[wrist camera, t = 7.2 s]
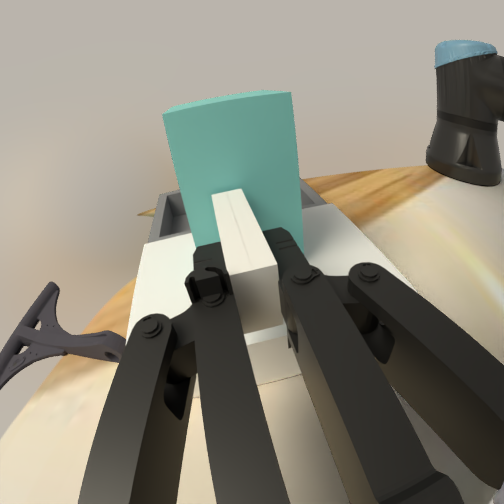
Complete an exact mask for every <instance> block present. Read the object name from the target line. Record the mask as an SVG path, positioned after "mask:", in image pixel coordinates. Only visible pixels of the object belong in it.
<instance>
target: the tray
mask: <svg viewBox="0 0 504 504" xmlns="http://www.w3.org/2000/svg"><path fill="white" fill-rule="evenodd" d="M299 178H300V177H299ZM300 191H301V206H302V209H305V208H310V207H315V206H320V205H325V204H327V203H326V202H325V201H324V200H323V199H322V198H321V197H320V196H319V195H318V194H317V193H316V192H315V191H314V190H313V189H312V188H311V187H310V186H309V185H307V184H306V183H305V182H304V181H303V180H302V179H301V178H300ZM189 233H191V229H190V225H189V222H188V218H187V214H186V211H185V207H184V203H183V199H182V196H181V192H180V190H176V191H172V192H168V193H164V194H160V195H159V199H158V204H157V207H156V211H155V215H154V219H153V223H152V227H151V231H150V236H149V240H148V243H151V242H155V241H159V240H164V239H168V238H172V237H176V236H180V235H185V234H189Z"/></svg>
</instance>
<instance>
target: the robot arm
mask: <svg viewBox="0 0 504 504" xmlns="http://www.w3.org/2000/svg"><path fill="white" fill-rule="evenodd" d="M434 67H435V69H436V75H437V122H436V125H435V128H434V131H433V135H432V137H431V141H430V145H429V146H428V147H427V150H426V163H427V164H428V165H429V166H430V167H431V168H433V169H434V170H436V171H438V172H440V173H442V174H444V175H447V176H449V177H452V178H455V179H458V180H461V181H465V182H468V183H473V184H478V185H488V186H490V185H497V184H498V183H499V182H500V178H501V172H502V168H501V160H500V153H499V147H498V141H497V125H498V120H500V121H503V122H504V57H502V56H499V55H497V51H496V48H495V47H494V46H493V45H491V44H487V43H484V42H479V41H470V40H450V41H444V42H441V43H439V44H438V45H437V46H436V48H435V66H434ZM211 196H212V201H213V206H214V211H215V216H216V221H217V226H218V231H219V236H220V240H221V241H220V242H216V243H211V244H207V245H203V246H198V247H197V248H196V250H195V252H194V253H193V269H194V270H193V271H192V272H190V273H189V274H188V276H187V277H186V279H185V283H184V284H185V287H186V289H187V292H188V295H189V298H190V300H191V303H192V305H191V306H190V307H189V308H188V309H187V310H186V311H184V312H183V313H181V314H179V315H177V316H175V317H173V318H171V319H169V317H167V316H166V315H164V314H159V313H155V314H149V315H147V316H145V317H143V318H141V319H140V320H139V321H138V322H137V323H136V324H135V326H134V327H133V329H132V331H131V334H130V336H129V339H128V341H127V344H126V346H125V349H124V351H123V354H122V357H121V359H120V362H119V365H118V367H117V370H116V373H115V376H114V379H113V381H112V384H111V387H110V390H109V393H108V396H107V399H106V402H105V405H104V408H103V411H102V414H101V417H100V420H99V424H98V427H97V430H96V434H95V437H94V440H93V444H92V447H91V451H90V455H89V458H88V462H87V466H86V470H85V474H84V478H83V482H82V486H81V491H80V495H79V500H78V504H176V502H177V495H178V488H179V481H180V474H181V467H182V460H183V454H184V447H185V441H186V435H187V429H188V422H189V416H190V410H191V405H192V399H193V393H194V387H195V382H196V374H197V373H198V382H199V391H200V400H201V408H202V416H203V423H204V430H205V437H206V444H207V451H208V457H209V463H210V469H211V475H212V481H213V486H214V491H215V497H216V502H217V504H290V501H289V498H288V494H287V491H286V488H285V484H284V481H283V478H282V474H281V471H280V467H279V464H278V460H277V457H276V453H275V450H274V446H273V443H272V439H271V436H270V432H269V428H268V425H267V421H266V417H265V414H264V410H263V406H262V403H261V399H260V395H259V391H258V388H257V384H256V380H255V376H254V372H253V368H252V364H251V360H250V357H249V353H248V349H247V345H246V341H245V337H244V334H247V333H251V332H256V331H260V330H264V329H268V328H272V327H276V326H279V325H283V318H284V321H285V323H286V326H287V338H288V349H289V348H291V347H292V349H293V352H294V354H295V357H296V360H297V362H298V365H299V368H300V370H301V373H302V376H303V378H304V381H305V384H306V386H307V389H308V391H309V394H310V397H311V399H312V402H313V405H314V407H315V410H316V413H317V415H318V418H319V421H320V423H321V426H322V429H323V431H324V434H325V437H326V439H327V442H328V445H329V447H330V450H331V453H332V455H333V458H334V461H335V463H336V466H337V469H338V471H339V474H340V477H341V479H342V482H343V485H344V487H345V490H346V493H347V496H348V498H349V501H350V504H464V502H463V500H462V498H461V495H460V493H459V491H458V489H457V487H456V485H455V484H454V482H453V481H452V480H451V479H450V478H449V477H448V476H447V475H445V474H443V473H440V472H438V471H437V470H435V469H434V467H433V466H432V464H431V462H430V460H429V458H428V456H427V454H426V452H425V450H424V448H423V446H422V444H421V442H420V440H419V438H418V436H417V434H416V432H415V430H414V428H413V427H412V425H411V423H410V421H409V419H408V417H407V415H406V413H405V411H404V409H403V408H402V406H401V404H400V402H399V400H398V398H397V397H396V395H395V393H394V391H393V389H392V387H393V388H394V389H395V390H396V391H397V392H398V393H399V394H400V395H401V396H402V397H403V398H404V399H405V400H406V401H407V403H408V404H409V405H410V406H411V407H412V408H413V409H414V410H415V411H416V412H417V413H418V414H419V415H420V416H421V417H422V419H423V420H424V421H425V422H426V423H427V424H428V425H429V426H430V427H431V428H432V429H433V430H434V431H435V433H436V434H437V435H438V436H439V437H440V438H441V439H442V440H443V441H444V442H445V443H446V444H447V446H448V447H449V448H450V449H451V450H452V451H453V452H454V453H455V454H456V455H457V456H458V457H459V459H460V460H461V461H462V462H463V463H464V464H465V465H466V466H467V467H468V468H469V469H470V471H471V472H472V473H474V474H475V475H476V476H477V477H478V478H479V479H480V480H481V481H483V482H484V483H486V484H487V485H489V486H491V487H493V488H495V489H498V491H497V492H496V493H495V495H494V498H493V503H494V504H504V365H503V364H502V363H500V362H499V361H498V360H497V359H496V358H495V357H494V356H493V355H492V354H490V353H489V352H488V351H487V350H486V349H485V348H484V347H483V346H481V345H480V344H479V343H478V342H477V341H476V340H475V339H473V338H472V337H471V336H470V335H469V334H468V333H466V332H465V331H464V330H463V329H462V328H460V327H459V326H458V325H457V324H456V323H454V322H453V321H452V320H451V319H450V318H448V317H447V316H446V315H445V314H443V313H442V312H441V311H440V310H438V309H437V308H436V307H435V306H433V305H432V304H431V303H430V302H428V301H427V300H426V299H425V298H423V297H422V296H421V295H419V294H418V293H417V292H416V291H414V290H413V289H412V288H410V287H409V286H408V285H406V284H405V283H404V282H402V281H401V280H400V279H398V278H397V277H396V276H394V275H393V274H392V273H390V272H389V271H388V270H386V269H385V268H384V267H382V266H380V265H378V264H375V263H371V262H362V263H358V264H355V265H354V266H353V267H351V268H350V271H349V273H348V276H328V275H324V274H323V272H322V271H321V270H320V269H319V268H317V267H315V266H312V265H310V264H309V262H308V261H307V259H306V257H305V256H304V254H303V253H302V251H301V249H300V248H299V246H297V243H296V242H295V240H294V238H293V237H292V235H291V234H290V232H289V231H287V230H285V229H283V228H282V227H279V228H274V229H269V230H265V231H261V229H260V226H259V224H258V222H257V220H256V218H255V216H254V214H253V212H252V210H251V208H250V206H249V204H248V202H247V199H246V197H245V195H244V193H243V191H242V189H236V190H231V191H227V192H222V193H218V194H213V195H211ZM389 383H390V384H391V385H392V387H391V386H390V384H389Z"/></svg>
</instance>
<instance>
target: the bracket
mask: <svg viewBox="0 0 504 504" xmlns="http://www.w3.org/2000/svg"><path fill="white" fill-rule="evenodd" d="M59 292H60V289H59V287H58V286H57V285H56V284H55V283H54V282H49V283H48V285H47V286H46V287H45V288H44V290H43V291H42V292H41V294H40V295H39V296H38V298H37V299H36V301H35V302H34V303H33V305H32V306H31V307H30V309H29V310H28V312H27V313H26V314H25V316H24V317H23V319H22V320H21V322H20V323H19V325H18V326H17V328H16V329H15V331H14V332H13V334H12V335H11V337H10V338H9V340H8V341H7V343H6V344H5V346H4V348H3V349H2V351H1V353H0V390H1V389H2V388H3V386H4V385H5V384H6V383H7V382H8V381H9V380H10V379H11V378H12V377H14V376H15V375H16V374H17V373H18V372H20V371H21V370H23V369H24V368H25V367H27V366H29V365H31V364H32V363H34V362H36V361H39V360H42V359H45V358H48V357H53V356H60V355H61V356H64V355H65V354H66V353H69V354H73V355H78V356H83V357H88V358H94V359H99V360H105V361H111V362H117V363H119V362H120V359H121V357H122V354H123V351H124V349H125V345H126V339H125V338H123V337H122V336H120V335H118V334H117V333H114V332H112V331H109V330H107V331H102V332H98V333H91V334H83V335H71V334H69V333H68V332H66V331H64V330H63V329H62V328H61V327H60V325H59V324H58V322H57V317H56V304H57V300H58V296H59ZM39 321H41V328H40V331H39V330H36V329H35V327H36V325H37V324H38V323H39ZM24 346H27V347H29V348H28V349H27V350H26V351H24V352H23V353H21V354H19V353H20V351H21V350H22V348H23V347H24ZM112 353H113V354H112Z"/></svg>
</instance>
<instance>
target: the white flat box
mask: <svg viewBox="0 0 504 504" xmlns="http://www.w3.org/2000/svg"><path fill="white" fill-rule="evenodd" d="M302 222H303V241H304V256H305V257H306V259H307V261H308V262H309V264H310V265H312V266H315V267H317V268H319V269H320V270H321V271H322V272H323V274H324V275H328V276H348V273H349V271H350V268H351V267H353V266H354V265H355V264H358V263H362V262H371V263H375V264H378V265H380V266H382V267H384V268H385V269H386V270H388V271H389V272H390V273H392V274H393V275H394V276H396V277H397V278H398V279H400V280H401V281H402V282H404V283H405V284H406V285H408V286H409V287H410V288H412V289H413V290H414V291H416V290H415V288H414V287H413V286H412V285H411V284H410V283H409V282H408V280H407V279H406V278H405V277H404V276H403V275H402V274H401V273H400V272H399V270H398V269H397V268H396V267H395V266H394V265H393V264H392V263H391V262H390V261H389V260H388V258H387V257H386V256H385V255H384V254H383V253H382V252H381V251H380V250H379V249H378V248H377V247H376V246H375V245H374V244H373V243H372V242H371V241H370V240H369V239H368V238H367V237H366V236H365V235H364V234H363V233H362V232H361V231H360V230H359V229H358V228H357V227H356V226H355V225H354V224H353V223H352V222H351V221H350V220H349V219H348V218H347V217H346V216H345V215H344V214H343V213H342V212H341V211H340V210H339V209H338V208H337V207H336V206H335V205H334V204H333V203H330V204H325V205H320V206H315V207H310V208H305V209H302ZM195 250H196V247H195V243H194V240H193V236H192V233H189V234H185V235H180V236H176V237H172V238H168V239H164V240H159V241H155V242H151V243H147V244H145V245H144V249H143V253H142V257H141V262H140V266H139V271H138V276H137V280H136V285H135V291H134V296H133V301H132V307H131V313H130V319H129V325H128V331H127V338H126V344H127V341H128V339H129V336H130V334H131V331H132V329H133V327H134V326H135V324H136V323H137V322H138V321H139V320H140V319H141V318H143V317H145V316H147V315H149V314H155V313H159V314H164V315H166V316H167V317H169V319H171V318H173V317H175V316H177V315H179V314H181V313H183V312H184V311H186V310H187V309H188V308H189V307H190V306H191V305H192V303H191V300H190V298H189V295H188V292H187V289H186V287H185V284H184V283H185V279H186V277H187V276H188V274H189V273H190V272H192V271H193V270H194V269H193V253H194V252H195ZM416 292H417V291H416ZM417 293H418V292H417ZM244 337H245V341H246V345H247V349H248V353H249V357H250V360H251V364H252V368H253V372H254V376H255V380H256V384H257V385H261V384H266V383H270V382H274V381H277V380H281V379H285V378H289V377H292V376H296V375H299V374H302V373H301V370H300V368H299V365H298V362H297V360H296V357H295V354H294V352H293V349H292V347H291V348H289V349H288V338H287V326H286V323H285V321H284V318H283V325H279V326H276V327H272V328H268V329H264V330H260V331H256V332H251V333H247V334H244ZM125 346H126V345H125ZM196 397H200V391H199V382H198V373H197V374H196V382H195V387H194V393H193V398H196Z"/></svg>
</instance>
